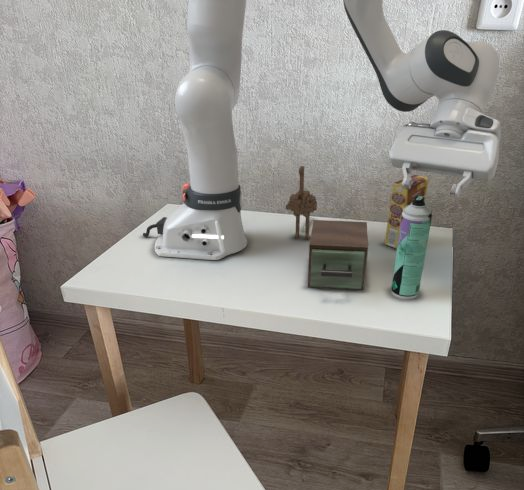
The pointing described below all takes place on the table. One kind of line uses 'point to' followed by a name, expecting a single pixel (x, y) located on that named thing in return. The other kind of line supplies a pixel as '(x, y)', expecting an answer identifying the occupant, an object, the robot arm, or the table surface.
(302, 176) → the ostrich figurine
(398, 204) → the candy box
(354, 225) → the cabinet
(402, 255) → the spray can
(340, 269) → the cabinet drawer
